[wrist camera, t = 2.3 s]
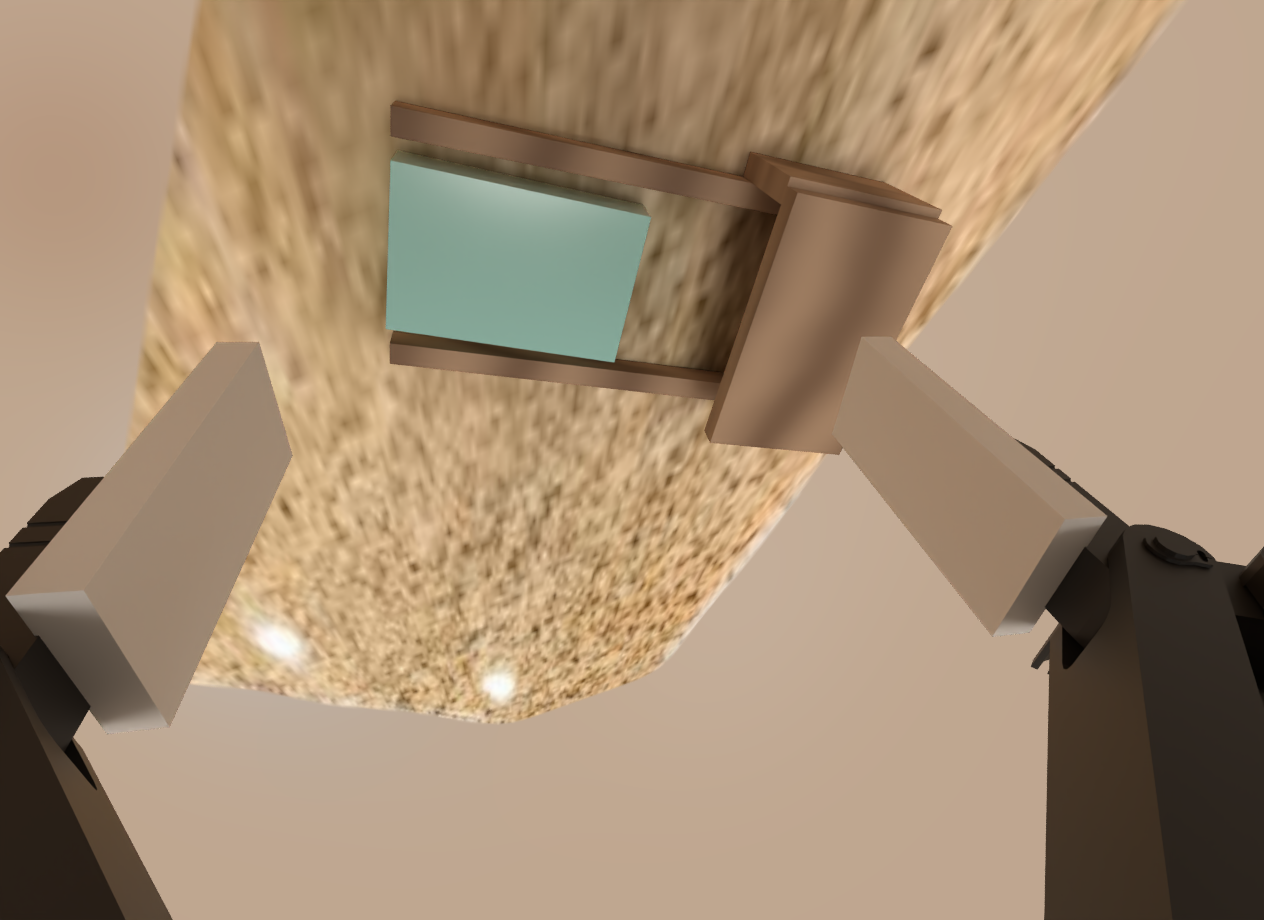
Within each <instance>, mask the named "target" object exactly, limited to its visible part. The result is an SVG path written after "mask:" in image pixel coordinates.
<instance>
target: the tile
mask: <svg viewBox="0 0 1264 920" xmlns="http://www.w3.org/2000/svg"><path fill="white" fill-rule="evenodd" d="M650 220H651V216H650V215H649V213H648V212H647V210H646V209H645V208H644V206H643V205H642V204H637V203H633V202H628V201H624V200H619V199H615V198H610V197H606V196H601V195H597V194H592V193H588V192H583V191H579V190H574V189H570V188H566V187H561V186H557V185H552V184H548V183H543V182H539V181H534V180H530V179H525V178H521V177H516V176H512V175H507V174H503V173H498V172H494V171H489V170H485V169H480V168H476V167H471V166H467V165H462V164H458V163H454V162H449V161H445V160H440V159H436V158H431V157H427V156H422V155H418V154H413V153H409V152H404V151H400V150H397V151H396V153H395V154H394V156H393V157H392V159H391V161H390V197H389V232H388V268H387V304H386V329H389V330H396V331H403V332H410V333H417V334H424V335H430V336H437V337H444V338H451V339H458V340H464V341H471V342H478V343H485V344H492V345H499V346H505V347H512V348H519V349H526V350H533V351H539V352H546V353H553V354H560V355H567V356H574V357H580V358H587V359H594V360H601V361H608V362H615V358H616V354H617V350H618V346H619V342H620V338H621V334H622V330H623V327H624V323H625V319H626V315H627V311H628V307H629V303H630V299H631V295H632V291H633V287H634V283H635V279H636V275H637V271H638V267H639V263H640V259H641V255H642V252H643V248H644V244H645V240H646V236H647V232H648V228H649V224H650Z"/></svg>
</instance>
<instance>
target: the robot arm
mask: <svg viewBox="0 0 1264 920" xmlns="http://www.w3.org/2000/svg"><path fill="white" fill-rule="evenodd" d="M832 435H833V436H834V437H835V438H836V440H837V441H838V442H839V443H840V445H841V446H842V447H843V448H844V450H845V451H846V452H847V454H848V455H849V456H850V457H851V458H852V460H853V461H854V462H855V464H856V465H857V466H858V467H859V469H860V470H861V471H862V472H863V474H864V475H865V476H866V477H867V479H868V480H869V481H870V483H871V484H872V485H873V486H874V488H875V489H876V490H877V491H878V493H879V494H880V495H881V496H882V498H883V499H884V500H885V501H886V503H887V504H888V505H889V506H890V508H891V509H892V510H893V512H894V513H895V514H896V515H897V517H898V518H899V519H900V520H901V522H902V523H903V524H904V526H905V527H906V528H907V529H908V531H909V532H910V533H911V534H912V536H913V537H914V538H915V539H916V541H917V542H918V543H919V545H920V546H921V547H922V548H923V549H924V551H925V552H926V553H927V554H928V556H929V557H930V558H931V560H932V561H933V562H934V563H935V565H936V566H937V567H938V568H939V570H940V571H941V572H942V573H943V575H944V576H945V577H946V578H947V580H948V581H949V582H950V584H951V585H952V586H953V587H954V589H955V590H956V591H957V592H958V594H959V595H960V596H961V598H962V599H963V600H964V601H965V603H966V604H967V605H968V606H969V608H970V609H971V610H972V611H973V613H974V614H975V615H976V617H977V618H978V619H979V620H980V622H981V623H982V624H983V625H984V627H985V628H986V629H987V630H988V632H989V633H990V634H991V635H992V637H994V636H1003V635H1012V634H1021V633H1029V632H1030V631H1031V630H1032V628H1033V627H1034V625H1035V624H1036V622H1037V621H1038V619H1039V618H1040V616H1041V615H1042V613H1043V612H1044V610H1045V609H1047V610H1048V611H1049V612H1050V613H1051V615H1052V616H1053V617H1055V619H1056V620H1057V621H1058V622H1059V624H1058V625H1057V627H1056V628H1055V630H1054V631H1053V633H1052V634H1051V635H1050V637H1049V638H1048V640H1047V641H1046V643H1045V644H1044V645H1043V647H1042V648H1041V650H1040V651H1039V652H1038V654H1037V655H1036V657H1035V658H1034V660H1033V662H1032V665H1031V667H1033V668H1035V669H1038V668H1039V667H1040V665H1041V664H1042V663H1043V661H1046V660H1049V659H1050V660H1049V671H1048V674H1049V711H1048V762H1047V763H1048V764H1047V813H1046V866H1045V915H1044V920H1264V547H1263V548H1262V549H1261V550H1260V552H1259V553H1258V554H1257V555H1256V556H1255V557H1254V558H1253V559H1252V560H1251V562H1250V563H1249V564H1248V565H1247V566H1242V565H1236V564H1230V563H1223V562H1217V561H1216V560H1215V559H1214V557H1213V556H1211V555H1210V554H1209V553H1208V552H1207V551H1206V550H1205V549H1203V548H1202V547H1201V546H1200V545H1198V544H1196V543H1195V542H1192V541H1191V540H1189V539H1188V538H1186V537H1184V536H1182V535H1180V534H1177V533H1175V532H1172V531H1170V530H1167V529H1164V528H1160V527H1156V526H1151V525H1132V526H1130V527H1129V526H1128V525H1127V524H1126V523H1124V522H1123V521H1122V520H1121V519H1120V518H1118V517H1117V516H1116V515H1115V514H1114V513H1112V512H1111V511H1110V510H1109V509H1107V508H1106V507H1105V506H1104V505H1103V504H1101V503H1100V502H1099V501H1098V500H1096V499H1095V498H1094V497H1092V496H1091V495H1090V494H1089V493H1088V492H1087V491H1085V490H1084V489H1083V488H1081V487H1080V486H1079V485H1078V484H1077V483H1076V482H1071V480H1070V479H1071V478H1069V477H1068V476H1067V475H1066V474H1064V473H1063V472H1062V471H1061V470H1060V469H1055V465H1053V464H1052V463H1051V462H1050V461H1049V460H1047V459H1046V458H1045V457H1044V456H1043V455H1041V454H1040V453H1039V452H1038V451H1036V450H1035V449H1033V448H1031V447H1029V446H1028V445H1026V444H1024V443H1022V442H1020V441H1018V440H1016V439H1014V438H1013V437H1011V436H1010V435H1009V434H1008V433H1007V432H1005V431H1004V430H1003V429H1002V428H1000V427H999V426H998V425H997V424H996V423H994V422H993V421H992V420H991V419H989V418H988V417H987V416H986V415H985V414H984V413H982V412H981V411H980V410H979V409H978V408H976V407H975V406H974V405H973V404H972V403H970V402H969V401H968V400H967V399H966V398H964V397H963V396H962V395H961V394H959V393H958V392H957V391H956V390H955V389H953V388H952V387H951V386H950V385H949V384H947V383H946V382H945V381H944V380H943V379H941V378H940V377H939V376H938V375H937V374H935V373H934V372H933V371H931V369H929V368H928V367H927V366H926V365H925V364H923V363H922V362H921V361H920V360H919V359H917V358H916V357H915V356H914V355H912V354H911V353H910V352H909V351H908V350H906V349H905V348H904V347H903V346H902V345H900V344H899V343H898V342H897V341H896V340H894V339H893V338H892V337H861V341H860V344H859V347H858V350H857V354H856V357H855V360H854V364H853V367H852V370H851V373H850V377H849V380H848V383H847V387H846V390H845V393H844V396H843V400H842V403H841V406H840V409H839V413H838V416H837V419H836V423H835V426H834V429H833V432H832ZM292 456H293V455H292V452H291V448H290V445H289V442H288V438H287V435H286V432H285V428H284V425H283V421H282V418H281V415H280V411H279V408H278V404H277V401H276V398H275V394H274V391H273V388H272V384H271V381H270V377H269V374H268V371H267V367H266V364H265V361H264V357H263V354H262V350H261V347H260V344H259V342H216V344H215V345H214V346H213V347H212V348H211V350H210V351H209V352H208V353H207V354H206V356H205V357H204V358H203V359H202V360H201V362H200V363H199V364H198V365H197V366H196V368H195V369H194V370H193V371H192V372H191V374H190V375H189V376H188V377H187V378H186V380H185V381H184V382H183V383H182V384H181V386H180V387H179V388H178V389H177V390H176V392H175V393H174V394H173V395H172V396H171V398H170V399H169V400H168V401H167V402H166V404H165V405H164V406H163V407H162V408H161V410H160V411H159V412H158V413H157V414H156V416H155V417H154V418H153V419H152V420H151V422H150V423H149V424H148V425H147V426H146V428H145V429H144V430H143V431H142V432H141V434H140V435H139V436H138V437H137V438H136V440H135V441H134V442H133V443H132V444H131V446H130V447H129V448H128V449H127V450H126V452H125V453H124V454H123V455H122V456H121V458H120V459H119V460H118V461H117V462H116V464H115V465H114V466H113V467H112V468H111V470H110V471H109V472H108V473H107V474H106V476H105V477H89V478H81V479H80V480H78V481H77V482H75V483H74V484H72V485H70V486H69V487H67V488H66V489H64V490H63V491H61V492H59V493H58V494H56V495H55V496H53V497H51V498H50V499H48V501H47V502H46V503H45V504H44V505H43V506H42V507H41V508H40V510H38V512H37V513H36V514H35V515H34V516H33V517H32V518H31V519H30V520H29V521H28V522H27V524H28V526H27V528H22V529H21V530H20V531H19V532H18V534H17V535H16V536H15V537H14V538H13V539H12V540H11V541H10V542H9V548H4V549H3V550H2V551H1V552H0V920H172V918H171V916H170V914H169V912H168V910H167V908H166V906H165V905H164V903H163V901H162V899H161V897H160V895H159V893H158V891H157V889H156V887H155V885H154V884H153V882H152V880H151V878H150V876H149V874H148V872H147V870H146V868H145V866H144V865H143V863H142V861H141V859H140V857H139V855H138V853H137V851H136V850H135V848H134V846H133V844H132V842H131V840H130V838H129V836H128V834H127V832H126V831H125V829H124V827H123V825H122V823H121V821H120V819H119V817H118V815H117V814H116V811H115V810H114V808H113V806H112V804H111V802H110V800H109V798H108V796H107V795H106V792H105V791H104V789H103V787H102V785H101V783H100V781H99V779H98V777H97V775H96V774H95V772H94V770H93V768H92V766H91V764H90V762H89V760H88V758H87V757H86V755H85V753H84V751H83V749H82V748H81V747H80V745H79V744H78V743H77V742H76V741H75V739H74V738H73V736H74V735H75V733H76V731H77V729H78V727H79V726H80V724H81V722H82V721H83V719H84V717H85V715H86V714H87V712H88V710H90V712H91V713H92V714H93V715H94V717H95V718H96V720H97V721H98V722H99V724H100V725H101V726H102V728H103V729H104V730H105V732H106V733H107V734H114V733H123V732H132V731H141V730H150V729H159V728H168V727H170V725H171V723H172V721H173V719H174V716H175V714H176V712H177V710H178V707H179V705H180V703H181V701H182V699H183V697H184V694H185V692H186V690H187V688H188V686H189V683H190V681H191V679H192V677H193V674H194V672H195V670H196V668H197V666H198V663H199V661H200V659H201V657H202V655H203V652H204V650H205V648H206V646H207V644H208V641H209V639H210V637H211V635H212V632H213V630H214V628H215V626H216V624H217V621H218V619H219V617H220V615H221V613H222V610H223V608H224V606H225V604H226V602H227V599H228V597H229V595H230V593H231V590H232V588H233V586H234V584H235V582H236V579H237V577H238V575H239V573H240V571H241V568H242V566H243V564H244V562H245V560H246V557H247V555H248V553H249V551H250V548H251V546H252V544H253V542H254V540H255V537H256V535H257V533H258V531H259V529H260V526H261V524H262V522H263V520H264V518H265V515H266V513H267V511H268V509H269V506H270V504H271V502H272V500H273V498H274V495H275V493H276V491H277V489H278V487H279V484H280V482H281V480H282V478H283V476H284V473H285V471H286V469H287V467H288V465H289V462H290V460H291V458H292Z"/></svg>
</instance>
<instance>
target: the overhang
mask: <svg viewBox="0 0 1264 920" xmlns="http://www.w3.org/2000/svg"><path fill="white" fill-rule="evenodd" d="M391 136H392V137H397V138H402V139H407V140H412V141H417V142H422V143H427V144H432V145H436V146H441V147H446V148H451V149H456V150H461V151H466V152H471V153H476V154H481V155H486V156H491V157H495V158H500V159H505V160H510V161H515V162H520V163H525V164H530V165H535V166H540V167H545V168H549V169H554V170H559V171H564V172H569V173H574V174H579V175H584V176H589V177H594V178H599V179H604V180H608V181H613V182H618V183H623V184H628V185H633V186H638V187H643V188H648V189H653V190H658V191H663V192H667V193H672V194H677V195H682V196H687V197H692V198H697V199H702V200H707V201H712V202H717V203H721V204H726V205H731V206H736V207H741V208H746V209H751V210H756V211H761V212H766V213H771V214H776V215H777V218H776V221H775V224H774V227H773V230H772V233H771V236H770V239H769V242H768V244H767V247H766V250H765V253H764V256H763V259H762V262H761V265H760V268H759V271H758V274H757V277H756V280H755V283H754V286H753V289H752V292H751V295H750V298H749V301H748V303H747V306H746V309H745V312H744V315H743V318H742V321H741V324H740V327H739V330H738V333H737V336H736V339H735V342H734V345H733V348H732V351H731V354H730V357H729V360H728V362H727V365H726V368H725V371H724V373H721V372H713V371H705V370H697V369H689V368H681V367H673V366H665V365H657V364H649V363H642V362H634V361H626V360H618V359H615V362H608V361H601V360H594V359H587V358H580V357H574V356H567V355H560V354H553V353H546V352H539V351H533V350H526V349H519V348H512V347H505V346H499V345H492V344H485V343H478V342H471V341H464V340H458V339H451V338H443V337H435V336H427V335H420V334H412V333H404V332H396V331H394V332H393V335H392V338H391V341H390V364H398V365H407V366H416V367H424V368H433V369H442V370H451V371H460V372H469V373H477V374H486V375H495V376H504V377H513V378H522V379H531V380H539V381H548V382H557V383H566V384H575V385H584V386H592V387H601V388H610V389H619V390H628V391H637V392H645V393H654V394H663V395H672V396H681V397H690V398H699V399H707V400H715V401H714V404H713V407H712V410H711V413H710V416H709V419H708V421H707V424H706V427H705V430H704V431H705V433H706V435H707V437H708V439H709V441H710V443H719V444H729V445H740V446H751V447H761V448H772V449H783V450H794V451H804V452H815V453H826V454H837V455H839V454H840V452H841V450H842V448H843V447H842V446H841V445H840V443H839V442H838V441H837V440H836V438H835V437H834V436H833V435H832V432H833V429H834V426H835V423H836V419H837V416H838V413H839V409H840V406H841V403H842V400H843V396H844V393H845V390H846V387H847V383H848V380H849V377H850V373H851V370H852V367H853V364H854V360H855V357H856V354H857V350H858V347H859V344H860V341H861V337H892V338H893V339H894V340H896V339H897V337H898V335H899V333H900V331H901V329H902V327H903V325H904V323H905V321H906V319H907V317H908V315H909V313H910V311H911V309H912V307H913V305H914V303H915V301H916V299H917V297H918V295H919V293H920V291H921V289H922V287H923V285H924V283H925V281H926V279H927V277H928V275H929V273H930V271H931V269H932V267H933V265H934V262H935V260H936V258H937V256H938V254H939V252H940V250H941V248H942V246H943V244H944V242H945V240H946V238H947V236H948V234H949V232H950V230H951V228H952V226H951V225H949V224H947V223H945V222H943V221H941V220H939V219H938V218H939V216H940V214H941V212H942V210H941V209H939V208H937V207H934V206H932V205H930V204H928V203H926V202H924V201H922V200H920V199H918V198H916V197H914V196H912V195H910V194H907V193H905V192H903V191H901V190H899V189H897V188H895V187H893V186H891V185H889V184H887V183H884V182H880V181H875V180H871V179H867V178H862V177H858V176H854V175H849V174H845V173H841V172H836V171H832V170H828V169H823V168H819V167H815V166H810V165H806V164H801V163H797V162H793V161H788V160H784V159H780V158H775V157H771V156H767V155H762V154H758V153H754V152H750V155H749V159H748V162H747V165H746V169H745V172H744V175H743V177H742V176H738V175H733V174H728V173H724V172H719V171H715V170H710V169H705V168H701V167H696V166H692V165H687V164H682V163H678V162H673V161H669V160H664V159H660V158H655V157H650V156H646V155H641V154H637V153H632V152H627V151H623V150H618V149H614V148H609V147H604V146H600V145H595V144H591V143H586V142H581V141H577V140H572V139H568V138H563V137H559V136H554V135H549V134H545V133H540V132H536V131H531V130H526V129H522V128H517V127H513V126H508V125H503V124H499V123H494V122H490V121H485V120H481V119H476V118H471V117H467V116H462V115H458V114H453V113H448V112H444V111H439V110H435V109H430V108H425V107H421V106H416V105H412V104H407V103H403V102H398V101H395V102H394V103H393V104H392V105H391Z"/></svg>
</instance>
